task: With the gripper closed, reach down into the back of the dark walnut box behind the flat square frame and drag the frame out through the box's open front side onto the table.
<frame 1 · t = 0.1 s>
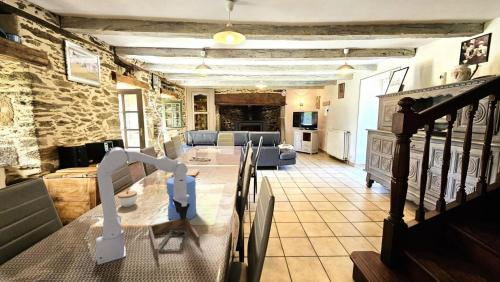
hand: (181, 215, 103), 10 cm above the table, tool pointing down, fingers open, 7 cm apart
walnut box: (172, 238, 101), on the table
water jug: (182, 215, 125), on the table
lidded jar: (128, 205, 139), on the table
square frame: (174, 244, 98), on the table
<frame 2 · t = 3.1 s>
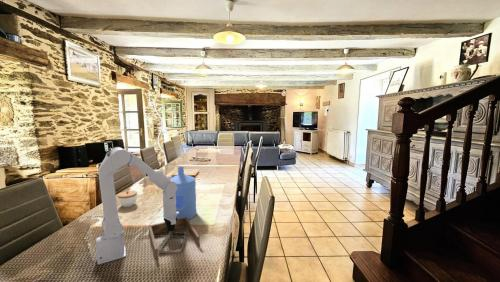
hand: (170, 232, 104), 1 cm above the table, tool pointing down, fingers closed
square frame: (174, 245, 97), on the table, touching gripper
everything else where it was.
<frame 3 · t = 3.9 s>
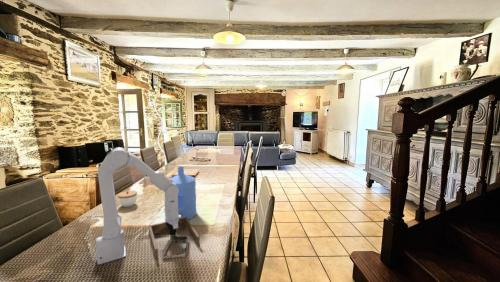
hand: (172, 236, 101), 1 cm above the table, tool pointing down, fingers closed
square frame: (177, 249, 94), on the table, touching gripper
everything else where it was.
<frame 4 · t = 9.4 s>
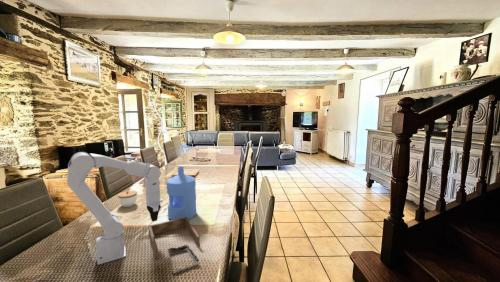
hand: (154, 220, 99), 9 cm above the table, tool pointing down, fingers closed
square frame: (182, 261, 87), on the table
everything else where it was.
at the end: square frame inside the target area (2.2 cm from its centre), on the table; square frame moved 13.3 cm from its start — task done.
